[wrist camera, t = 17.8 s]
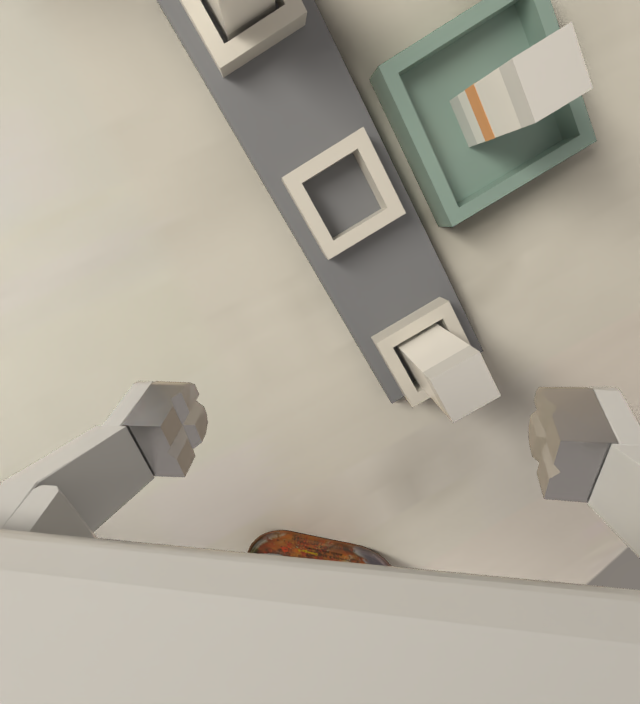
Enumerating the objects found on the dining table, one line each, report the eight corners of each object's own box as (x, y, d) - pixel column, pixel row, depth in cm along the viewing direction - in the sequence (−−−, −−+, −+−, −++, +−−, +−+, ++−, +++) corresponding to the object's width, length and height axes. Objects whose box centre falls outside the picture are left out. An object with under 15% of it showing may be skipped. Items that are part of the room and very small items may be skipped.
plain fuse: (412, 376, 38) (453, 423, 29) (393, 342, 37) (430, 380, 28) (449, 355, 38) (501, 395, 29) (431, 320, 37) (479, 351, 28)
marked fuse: (468, 147, 34) (535, 123, 25) (448, 100, 32) (511, 58, 24) (511, 121, 33) (593, 88, 25) (492, 73, 32) (572, 20, 24)
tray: (438, 226, 36) (452, 227, 33) (369, 79, 32) (378, 65, 30) (570, 147, 35) (596, 140, 32) (514, -13, 32) (538, -36, 29)
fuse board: (389, 399, 40) (399, 415, 37) (155, -2, 30) (140, -30, 26) (476, 348, 39) (495, 360, 36) (269, -78, 29) (268, -116, 26)
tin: (393, 552, 45) (419, 624, 37) (383, 576, 46) (406, 652, 38) (250, 521, 42) (244, 592, 34) (241, 547, 43) (234, 623, 35)
